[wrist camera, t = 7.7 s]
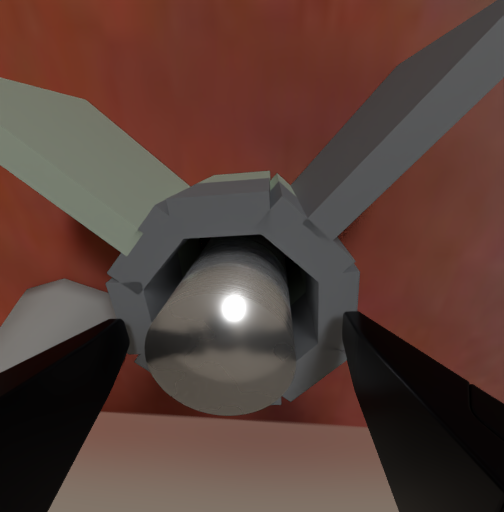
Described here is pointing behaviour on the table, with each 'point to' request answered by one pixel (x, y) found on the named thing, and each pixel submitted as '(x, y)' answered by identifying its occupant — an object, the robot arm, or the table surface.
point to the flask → (50, 319)
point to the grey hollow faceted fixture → (318, 197)
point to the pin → (226, 330)
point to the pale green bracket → (96, 168)
